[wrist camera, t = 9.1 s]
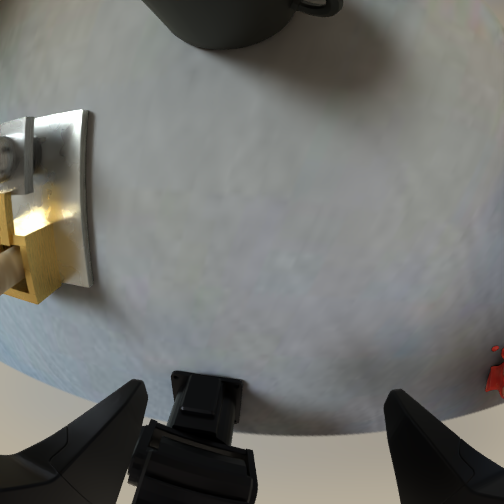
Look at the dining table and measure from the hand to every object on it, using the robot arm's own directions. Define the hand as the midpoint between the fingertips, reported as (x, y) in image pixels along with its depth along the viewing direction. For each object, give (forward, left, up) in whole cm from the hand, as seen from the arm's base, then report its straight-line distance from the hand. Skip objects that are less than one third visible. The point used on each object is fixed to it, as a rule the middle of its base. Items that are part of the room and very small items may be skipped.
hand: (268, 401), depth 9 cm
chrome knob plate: (+4, +20, -12) cm, 24 cm away
